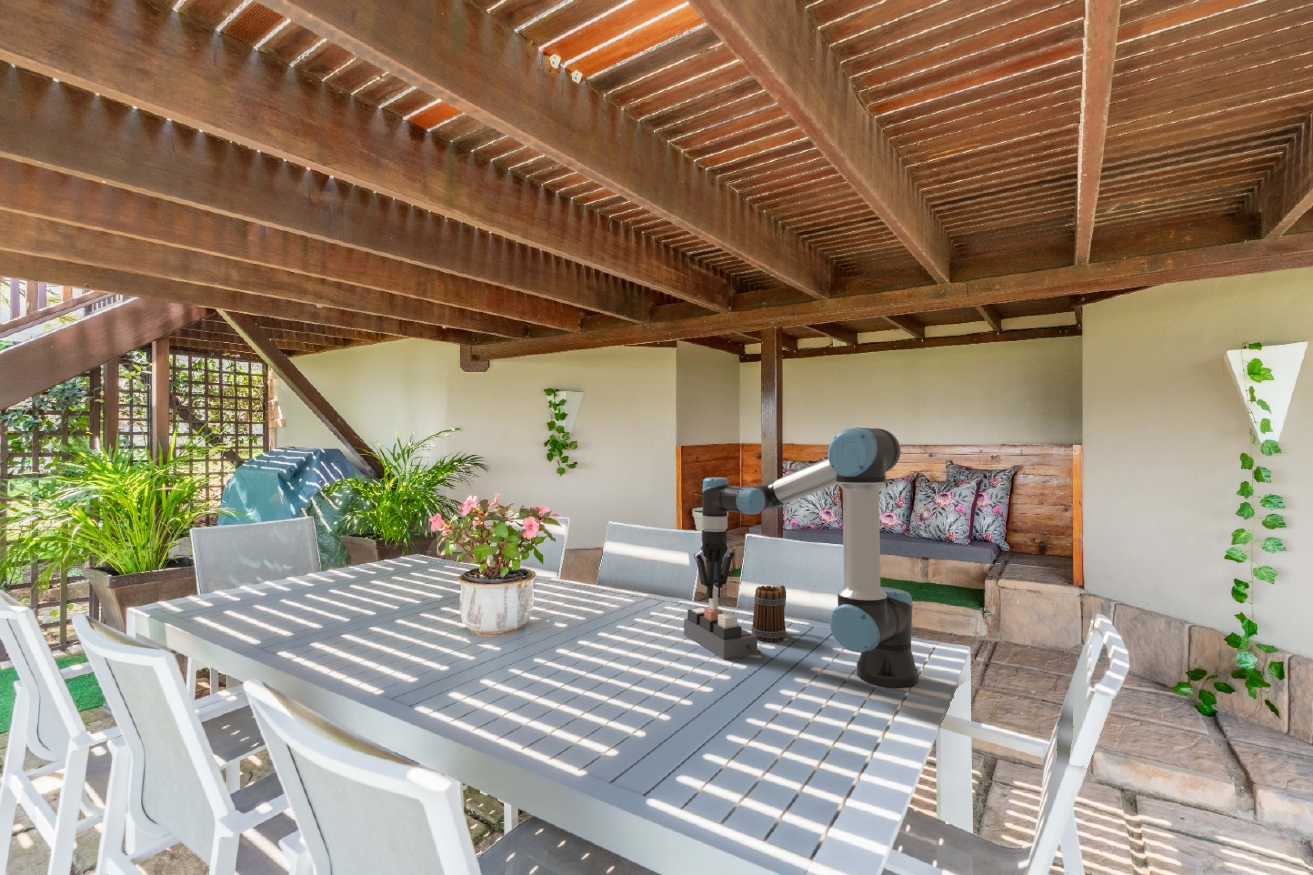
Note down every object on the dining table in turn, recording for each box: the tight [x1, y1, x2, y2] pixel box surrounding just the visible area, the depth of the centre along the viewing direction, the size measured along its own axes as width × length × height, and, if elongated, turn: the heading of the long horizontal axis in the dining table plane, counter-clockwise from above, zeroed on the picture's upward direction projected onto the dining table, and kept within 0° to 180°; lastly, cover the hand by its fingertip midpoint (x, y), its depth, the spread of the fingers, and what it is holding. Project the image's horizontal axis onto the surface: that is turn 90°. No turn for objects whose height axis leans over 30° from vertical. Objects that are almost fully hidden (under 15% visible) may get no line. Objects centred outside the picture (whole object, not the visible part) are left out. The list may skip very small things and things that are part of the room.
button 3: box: [691, 607, 705, 614], centre depth 201 cm, size 4×4×3 cm
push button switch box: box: [683, 607, 762, 660], centre depth 192 cm, size 30×11×8 cm, turn 25°
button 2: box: [704, 607, 724, 621], centre depth 194 cm, size 4×4×3 cm
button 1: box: [718, 612, 738, 628], centre depth 187 cm, size 4×4×3 cm
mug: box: [751, 584, 787, 643], centre depth 204 cm, size 16×11×15 cm
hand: (713, 608), depth 194 cm, fingers closed
